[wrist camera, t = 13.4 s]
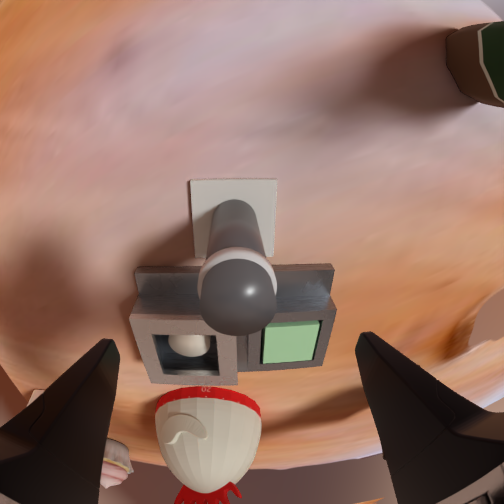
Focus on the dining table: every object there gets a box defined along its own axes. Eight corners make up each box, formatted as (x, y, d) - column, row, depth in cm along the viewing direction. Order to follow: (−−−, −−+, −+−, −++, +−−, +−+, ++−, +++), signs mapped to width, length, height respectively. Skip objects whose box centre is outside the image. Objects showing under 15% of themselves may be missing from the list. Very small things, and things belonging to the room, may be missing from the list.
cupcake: (106, 451, 41) (99, 490, 32) (81, 430, 37) (70, 474, 28) (145, 455, 41) (139, 498, 32) (121, 435, 37) (112, 484, 28)
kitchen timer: (136, 395, 30) (117, 499, 17) (236, 375, 29) (243, 504, 16) (189, 439, 37) (186, 521, 23) (272, 424, 35) (285, 516, 22)
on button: (306, 344, 26) (311, 359, 24) (261, 347, 25) (263, 363, 24) (313, 309, 24) (319, 324, 22) (262, 311, 23) (265, 327, 22)
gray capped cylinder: (259, 196, 20) (284, 270, 11) (258, 242, 21) (278, 337, 13) (208, 196, 19) (190, 271, 11) (210, 243, 21) (198, 339, 12)
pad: (272, 254, 22) (273, 256, 22) (195, 255, 22) (195, 257, 22) (276, 178, 20) (277, 179, 19) (191, 179, 19) (190, 180, 19)
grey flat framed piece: (311, 360, 29) (319, 390, 25) (161, 363, 28) (156, 394, 24) (330, 263, 23) (348, 292, 19) (137, 266, 22) (122, 296, 18)
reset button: (212, 345, 25) (211, 356, 24) (173, 345, 25) (172, 356, 23) (209, 316, 23) (208, 327, 22) (167, 316, 23) (165, 327, 22)
